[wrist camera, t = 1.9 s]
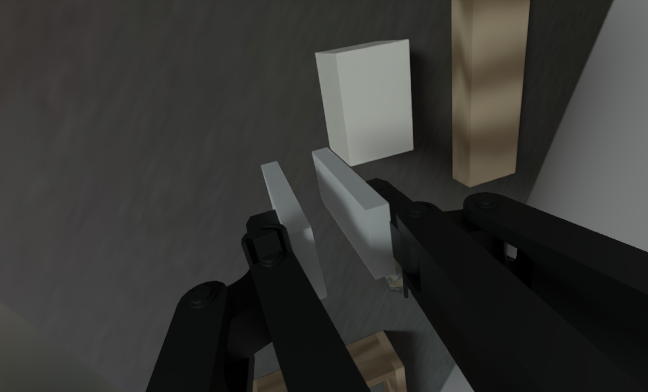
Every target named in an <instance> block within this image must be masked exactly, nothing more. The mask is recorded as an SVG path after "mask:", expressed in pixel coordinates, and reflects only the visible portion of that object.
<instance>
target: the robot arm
mask: <svg viewBox="0 0 648 392" xmlns="http://www.w3.org/2000/svg"><path fill="white" fill-rule="evenodd" d="M312 154H313V159H314V164H315V168H316V173H317V178H318V183H319V188H320V193H321V197H322V202H323V203H324V205H325V206H326V208H327V209H328V210H329V212H330V213H331V215H332V216H333V218H334V219H335V221H336V222H337V224H338V225H339V227H340V228H341V230H342V231H343V233H344V234H345V235H346V237H347V238H348V240H349V241H350V243H351V244H352V246H353V247H354V249H355V250H356V252H357V253H358V255H359V256H360V257H361V259H362V260H363V262H364V263H365V265H366V266H367V268H368V269H369V271H370V272H371V274H372V275H373V277H374V278H375V280H377V279H380V278H382V277H385V276H388V275H391V274H394V273H396V267H395V260H396V261H397V262H398V264H399V265H400V266H401V269H402V280H403V290H404V296H405V298H408V289H409V290H410V291H411V293H412V295H413V296H414V298H415V299H416V301H417V302H418V304H419V306H420V307H421V309H422V310H423V312H424V313H425V315H426V317H427V318H428V320H429V321H430V323H431V324H432V326H433V328H434V329H435V331H436V332H437V334H438V335H439V337H440V339H441V340H442V342H443V343H444V345H445V346H446V348H447V350H448V351H449V353H450V354H451V356H452V357H453V359H454V361H455V362H456V364H457V365H458V367H459V368H460V370H461V372H462V373H463V375H464V376H465V378H466V379H467V381H468V382H469V384H470V386H471V387H472V389H473V390H474V392H648V252H646V251H643V250H641V249H638V248H636V247H633V246H631V245H628V244H625V243H623V242H620V241H618V240H615V239H613V238H610V237H608V236H605V235H602V234H600V233H597V232H594V231H592V230H590V229H587V228H584V227H582V226H579V225H577V224H574V223H572V222H569V221H567V220H564V219H561V218H559V217H556V216H554V215H551V214H549V213H546V212H543V211H541V210H538V209H536V208H533V207H530V206H528V205H525V204H523V203H520V202H518V201H515V200H513V199H510V198H508V197H505V196H502V195H499V194H495V193H488V192H482V193H476V194H473V195H470V196H468V197H467V198H465V200H464V202H463V209H462V210H454V211H444V212H442V211H441V210H440V209H439V208H438V207H437V206H435V205H433V204H432V203H428V202H419V201H416V202H413V201H412V200H410V199H409V198H408V197H406V196H405V195H404V194H403V193H401V192H400V191H398V189H396V188H395V187H393V186H392V185H391V184H390V183H389V182H387V181H385V180H381V179H378V178H375V179H372V180H369V181H364V180H363V179H361V178H360V177H359V176H358V175H357V174H356V173H355V172H354V171H353V170H351V169H350V168H349V167H348V166H347V165H346V164H345V163H344V162H343V161H341V160H340V159H339V158H338V157H337V156H336V155H335V154H334V153H333V152H331V151H330V150H329V149H328V148H323V149H319V150H316V151H312ZM261 168H262V171H263V175H264V178H265V182H266V185H267V189H268V192H269V195H270V199H271V202H272V206H273V209H274V210H271V211H267V212H264V213H261V214H257V215H254V216H251V217H250V218H249V220H248V222H247V224H246V227H247V233H246V234H245V235H244V237H243V238H242V241H241V245H242V248H243V250H244V253H245V256H246V259H247V262H248V264H249V267H250V269H249V271H248V272H247V273H246V274H245V275H244V276H243V277H242V278H241V279H239V280H238V281H236V282H235V283H233V284H231V285H229V286H228V287H227V286H226V285H225V284H224V283H223V282H219V281H210V282H205V283H202V284H199V285H197V286H195V287H194V288H192V289H190V290H189V291H188V292H187V293H186V294H185V295H184V296H183V297H182V298H181V300H180V301H179V303H178V305H177V307H176V310H175V313H174V316H173V318H172V321H171V324H170V327H169V329H168V332H167V335H166V337H165V340H164V343H163V346H162V348H161V351H160V354H159V357H158V359H157V362H156V365H155V367H154V370H153V373H152V376H151V378H150V381H149V384H148V387H147V389H146V392H253V379H254V363H255V357H254V354H255V353H256V352H258V351H259V350H260V349H262V348H263V347H265V346H266V345H268V344H269V343H271V342H273V346H274V349H275V352H276V355H277V359H278V362H279V365H280V368H281V372H282V375H283V378H284V382H285V385H286V388H287V391H288V392H371V391H370V389H369V387H368V386H367V384H366V382H365V380H364V378H363V377H362V375H361V373H360V371H359V369H358V368H357V366H356V364H355V362H354V360H353V359H352V357H351V355H350V353H349V351H348V350H347V348H346V346H345V344H344V342H343V341H342V339H341V337H340V335H339V333H338V332H337V330H336V328H335V326H334V324H333V322H332V321H331V319H330V317H329V315H328V313H327V312H326V310H325V308H324V306H323V304H322V303H321V301H320V299H323V298H326V297H327V293H326V289H325V285H324V280H323V276H322V272H321V268H320V263H319V259H318V255H317V251H316V246H315V242H314V238H313V234H312V229H311V226H310V224H309V223H308V221H307V219H306V217H305V215H304V213H303V211H302V209H301V207H300V205H299V203H298V201H297V199H296V197H295V195H294V194H293V192H292V190H291V188H290V186H289V184H288V182H287V180H286V178H285V176H284V174H283V172H282V170H281V168H280V166H279V164H278V163H277V161H275V162H271V163H268V164H264V165H261ZM508 244H510V245H512V246H514V247H515V248H517V257H516V259H514V258H511V257H509V256H507V249H508Z"/></svg>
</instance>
